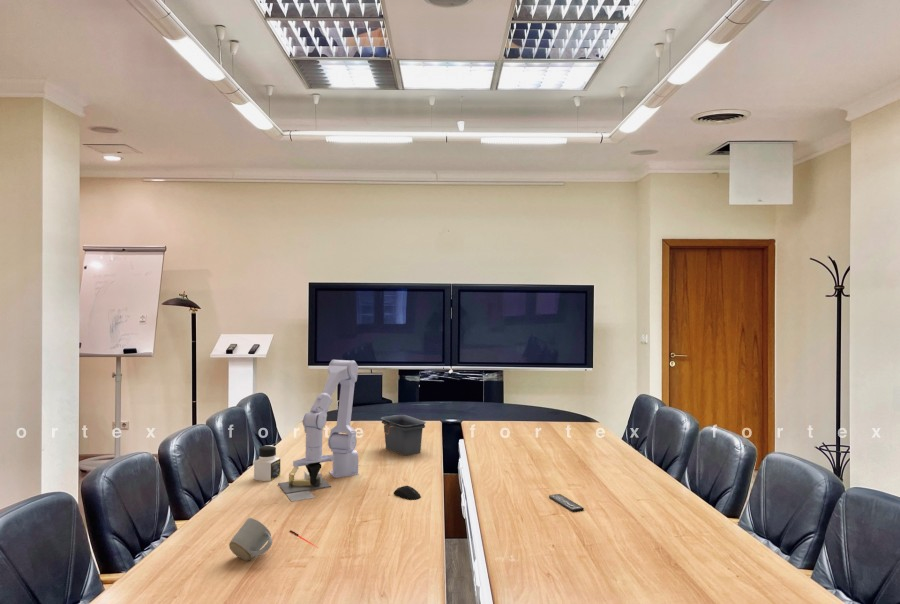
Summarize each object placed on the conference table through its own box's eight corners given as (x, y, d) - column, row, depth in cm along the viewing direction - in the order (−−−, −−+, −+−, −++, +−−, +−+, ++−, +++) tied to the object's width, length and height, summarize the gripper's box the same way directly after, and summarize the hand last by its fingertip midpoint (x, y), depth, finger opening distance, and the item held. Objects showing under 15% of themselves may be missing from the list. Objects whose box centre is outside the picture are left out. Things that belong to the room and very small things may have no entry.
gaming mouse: (416, 507, 185) (416, 495, 185) (389, 495, 196) (389, 484, 196) (431, 503, 190) (431, 491, 190) (404, 491, 201) (404, 480, 201)
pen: (289, 532, 165) (289, 528, 165) (324, 553, 151) (324, 549, 151) (286, 533, 164) (286, 529, 164) (321, 554, 150) (321, 550, 150)
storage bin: (429, 454, 249) (429, 421, 249) (399, 460, 239) (399, 426, 239) (402, 444, 266) (402, 414, 266) (373, 449, 256) (374, 418, 256)
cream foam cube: (317, 479, 211) (317, 469, 211) (321, 482, 206) (321, 473, 206) (304, 481, 208) (304, 471, 208) (307, 484, 204) (308, 475, 204)
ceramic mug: (241, 564, 147) (221, 543, 146) (263, 538, 153) (244, 518, 152) (259, 562, 140) (238, 540, 139) (281, 535, 146) (261, 513, 145)
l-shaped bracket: (293, 478, 211) (293, 466, 211) (323, 477, 212) (323, 466, 212) (288, 486, 201) (288, 474, 201) (319, 485, 202) (319, 474, 202)
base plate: (321, 478, 213) (321, 476, 213) (331, 488, 203) (331, 485, 203) (278, 485, 206) (278, 483, 206) (285, 495, 195) (285, 492, 195)
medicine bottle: (271, 481, 210) (271, 449, 210) (253, 480, 211) (253, 448, 211) (280, 476, 217) (280, 444, 217) (263, 474, 218) (263, 443, 218)
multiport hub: (559, 500, 193) (559, 493, 193) (584, 515, 179) (584, 508, 179) (548, 501, 191) (548, 495, 191) (572, 517, 178) (572, 509, 178)
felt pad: (309, 491, 199) (309, 490, 199) (315, 498, 192) (315, 497, 192) (285, 495, 195) (286, 494, 195) (291, 502, 188) (291, 501, 188)
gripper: (327, 441, 209) (326, 478, 209) (289, 446, 200) (289, 485, 199) (336, 444, 203) (335, 482, 203) (298, 450, 194) (297, 490, 194)
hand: (313, 484), depth 201 cm, fingers closed, pressing on l-shaped bracket
